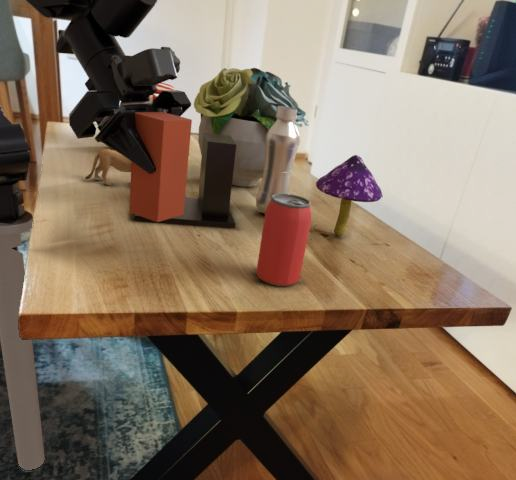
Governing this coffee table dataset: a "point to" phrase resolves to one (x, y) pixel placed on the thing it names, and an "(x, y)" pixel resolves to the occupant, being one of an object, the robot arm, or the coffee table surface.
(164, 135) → the tall terracotta column
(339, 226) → the decorative mushroom
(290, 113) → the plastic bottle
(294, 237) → the beer can
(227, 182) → the seat plate
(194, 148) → the coffee table surface
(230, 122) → the flower arrangement
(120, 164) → the lion figurine
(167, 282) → the coffee table surface
